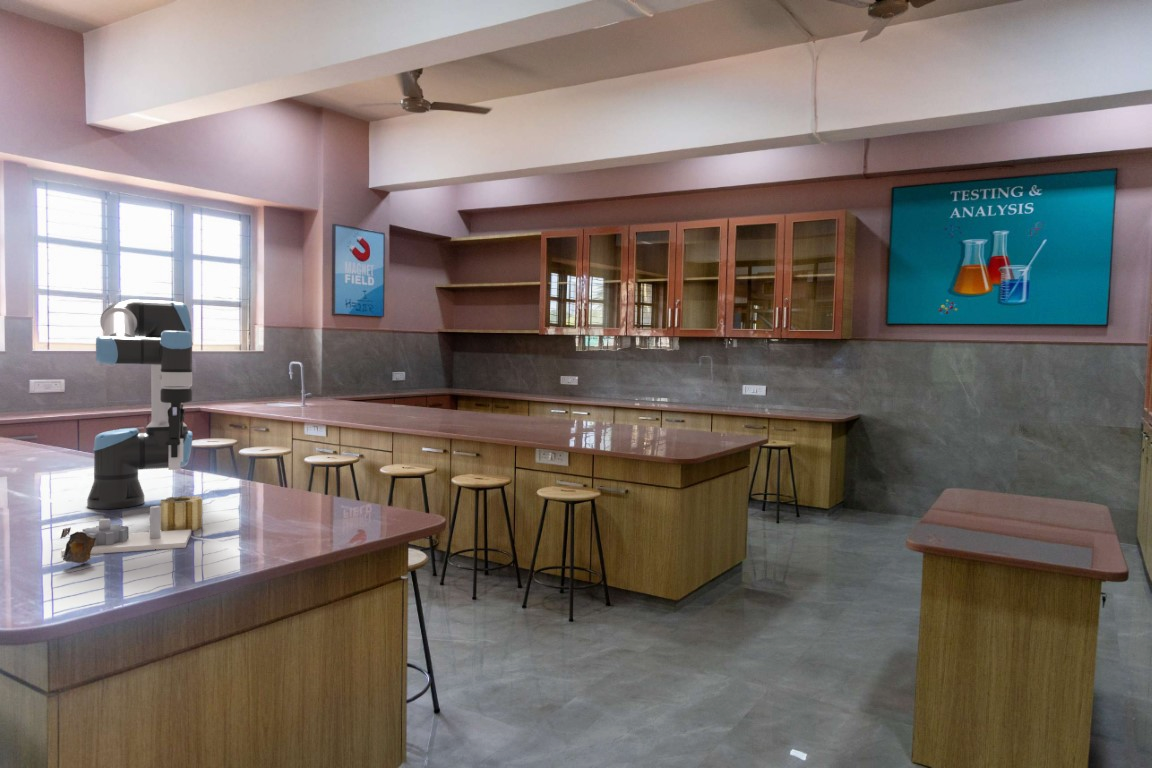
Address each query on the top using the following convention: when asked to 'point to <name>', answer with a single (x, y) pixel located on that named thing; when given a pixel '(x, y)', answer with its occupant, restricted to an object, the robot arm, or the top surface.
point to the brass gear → (181, 513)
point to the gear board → (135, 536)
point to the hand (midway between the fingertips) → (176, 465)
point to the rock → (77, 546)
